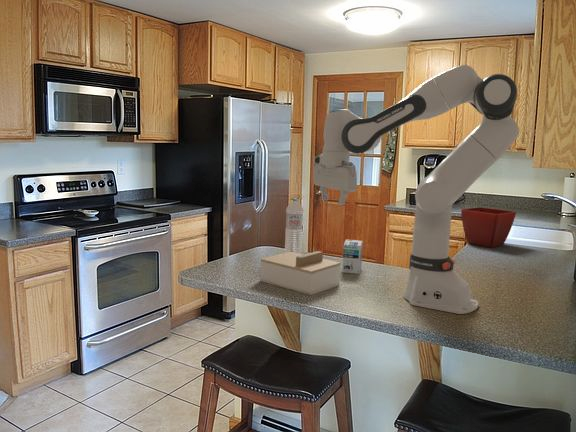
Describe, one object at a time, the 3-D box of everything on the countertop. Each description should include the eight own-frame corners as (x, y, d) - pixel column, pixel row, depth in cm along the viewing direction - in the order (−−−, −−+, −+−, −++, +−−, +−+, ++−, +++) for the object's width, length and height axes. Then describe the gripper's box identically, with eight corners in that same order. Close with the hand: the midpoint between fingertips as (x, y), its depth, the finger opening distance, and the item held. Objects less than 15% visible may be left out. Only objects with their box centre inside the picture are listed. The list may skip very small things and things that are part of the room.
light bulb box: (359, 274, 185) (361, 245, 184) (341, 272, 187) (343, 244, 185) (361, 267, 196) (363, 240, 194) (344, 265, 197) (345, 239, 195)
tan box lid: (340, 264, 170) (340, 254, 169) (311, 273, 158) (311, 262, 157) (290, 253, 184) (291, 243, 183) (260, 261, 172) (260, 250, 171)
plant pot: (477, 238, 260) (480, 206, 257) (513, 245, 246) (517, 211, 243) (457, 242, 248) (460, 209, 245) (494, 250, 234) (497, 214, 231)
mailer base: (339, 285, 171) (340, 265, 170) (310, 295, 159) (311, 274, 158) (290, 272, 185) (290, 253, 184) (260, 281, 173) (260, 261, 172)
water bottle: (303, 258, 206) (306, 198, 202) (297, 262, 200) (299, 200, 196) (288, 256, 209) (290, 197, 205) (281, 260, 203) (283, 198, 199)
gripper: (363, 162, 156) (360, 206, 158) (326, 158, 173) (323, 198, 175) (346, 162, 152) (343, 207, 155) (310, 157, 170) (308, 198, 172)
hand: (332, 202), depth 165 cm, fingers open, 8 cm apart
